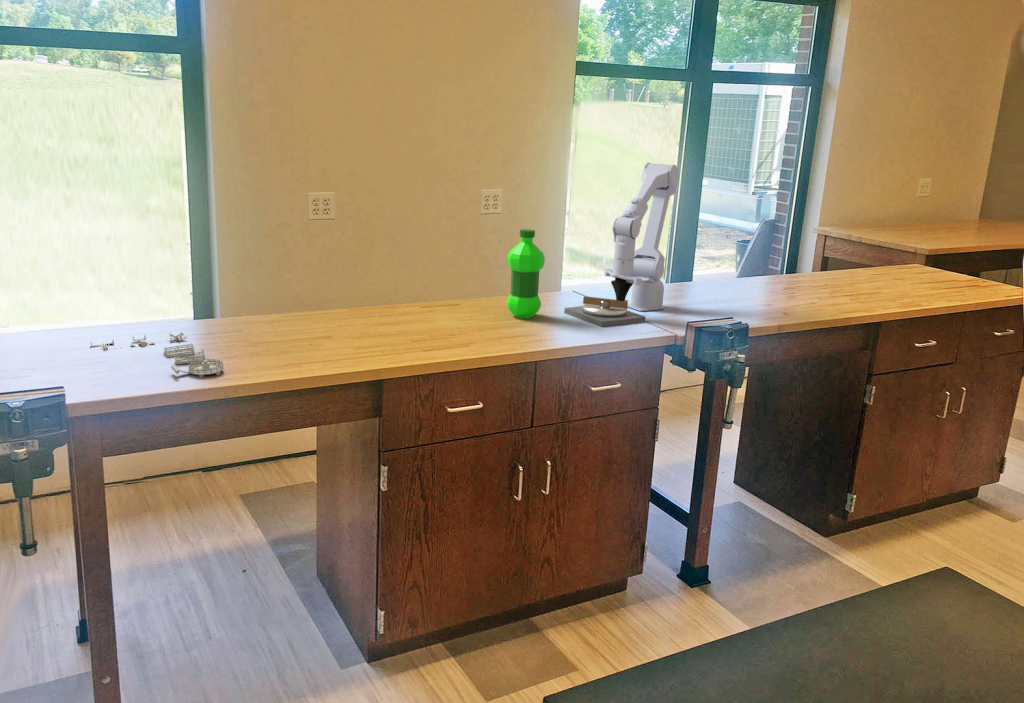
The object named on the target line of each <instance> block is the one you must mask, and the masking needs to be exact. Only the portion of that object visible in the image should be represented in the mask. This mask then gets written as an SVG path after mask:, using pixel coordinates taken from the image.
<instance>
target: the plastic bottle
mask: <svg viewBox="0 0 1024 703" xmlns="http://www.w3.org/2000/svg"><path fill="white" fill-rule="evenodd" d="M519 237H520V238H521V242H519V243H517V244H516V246H514V247H512V249H511V250H510V251H509V252H508V254H507V264H508V266H509V268H510V270H511V277H510V279H511V280H510V294H508V297H507V300H506V307H507V310H509V312H510V313H511V314H512V315H513V316H514V317H515V318H518V319H531V318H533V316H534V315H536V314H537V313H538V312H539V311H540V309H541V307H542V301H541V299H540V297H539V287H540V285H539V284H540V271H541V270H542V269H543V268H544V265H545V256H544V253H543V252H542V250H540V248H539V247H538V246H537V245H536V244H534V242H533V241H534V240H533V239H534V238H535V237H536V230H535V229H530V228H529V229H527V228H526V229H523V228H521V229H519Z"/></svg>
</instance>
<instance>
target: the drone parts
mask: <svg viewBox="0 0 1024 703" xmlns="http://www.w3.org/2000/svg"><path fill="white" fill-rule="evenodd" d="M168 336H170V337H169V340H172V341H179V342H180V341H182V340H183V339H184V340H185V339H187V338H188V336H187V335H185V336H184V332H183V331H180V332H179V334H178V335H174V334H173V333H171V332H170V333H169V334H168ZM132 340H133V342H137V344H138V345H141V346H140V347H142V346H143V347H142V348H145V347H144V346H146V347H147V346H148V345H149V346H151V345H153V344H156V342H155V341H151V342H147V341H146V340H147V337H146V335H145V334H144V337H143V338H140V337H139V338H138V339H135V337H134V336H132ZM148 343H149V344H148ZM104 344H105V345H107V344H108V346H106V347H105V345H104ZM110 344H112V345H115V342H114V340H112V342H108V343H102V344H92V342H90V346H92V347H91V348H96V347H95V346H101V348H103V349H104V351H105V350H108V351H109V349H108V348H109V346H111V345H110ZM137 344H132V343H131V344H130V347H134V346H135V345H137ZM147 344H148V345H147ZM150 344H151V345H150ZM102 345H103V346H102ZM201 350H202V351H198V352H196V351H195V346H194V344H193V343H188V344H187V343H186V344H183V345H181V344H180V345H175V346H168V347H163V354H164V356H165V357H166V356H167V357H168V358H171V357H174V360H175V361H174V364H176V365H177V366H179V365H182V364H187V367H188V370H186V369H185V370H184V369H181V368H178V367H175V365H171V366H170V368H171V369H172V371H174V373H175V374H176V375H178V374H179V373H183V374H191V375H196V376H198V378H203V377H205V375H213V374H215V375H217V376H220V375H221V372H223V370H224V369H225V368H224V363H223V361H222V360H220V359H215V358H213V359H211V358H206V354H205V350H204V349H203V348H201ZM181 356H182V357H181ZM167 357H166V358H167Z"/></svg>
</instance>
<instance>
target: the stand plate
mask: <svg viewBox="0 0 1024 703" xmlns="http://www.w3.org/2000/svg"><path fill="white" fill-rule="evenodd" d="M563 313H564V314H566V315H568V316H571V317H575V318H577V319H580V320H581V321H585V322H588V323H590V324H593V325H595V326H598V327H601V328H606V327H613V326H614V327H615V326H621V325H628V324H637V323H645V322H646V316H644V315H641V314H638V313H636V312H632V311H631V310H627V314H626V315H623V316H615V317H607V316H597V315H591V314H588V313H585V312H584V311H583V305H581V306H571V307H564V312H563Z"/></svg>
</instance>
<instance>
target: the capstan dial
mask: <svg viewBox="0 0 1024 703" xmlns="http://www.w3.org/2000/svg"><path fill="white" fill-rule="evenodd" d="M582 299H583V301H582V304H583V305H582V306H583V311H584V312H585V313H588V314H591V315H597V316H607V317H615V316H623V315H626V314H627V311H628V308H629V307H628V304H629V300H628V299H625V300H624V301H623V300H616V299H613V298H604V297H595V296H587V295H586V296H585V295H584V296H583V298H582Z"/></svg>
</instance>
